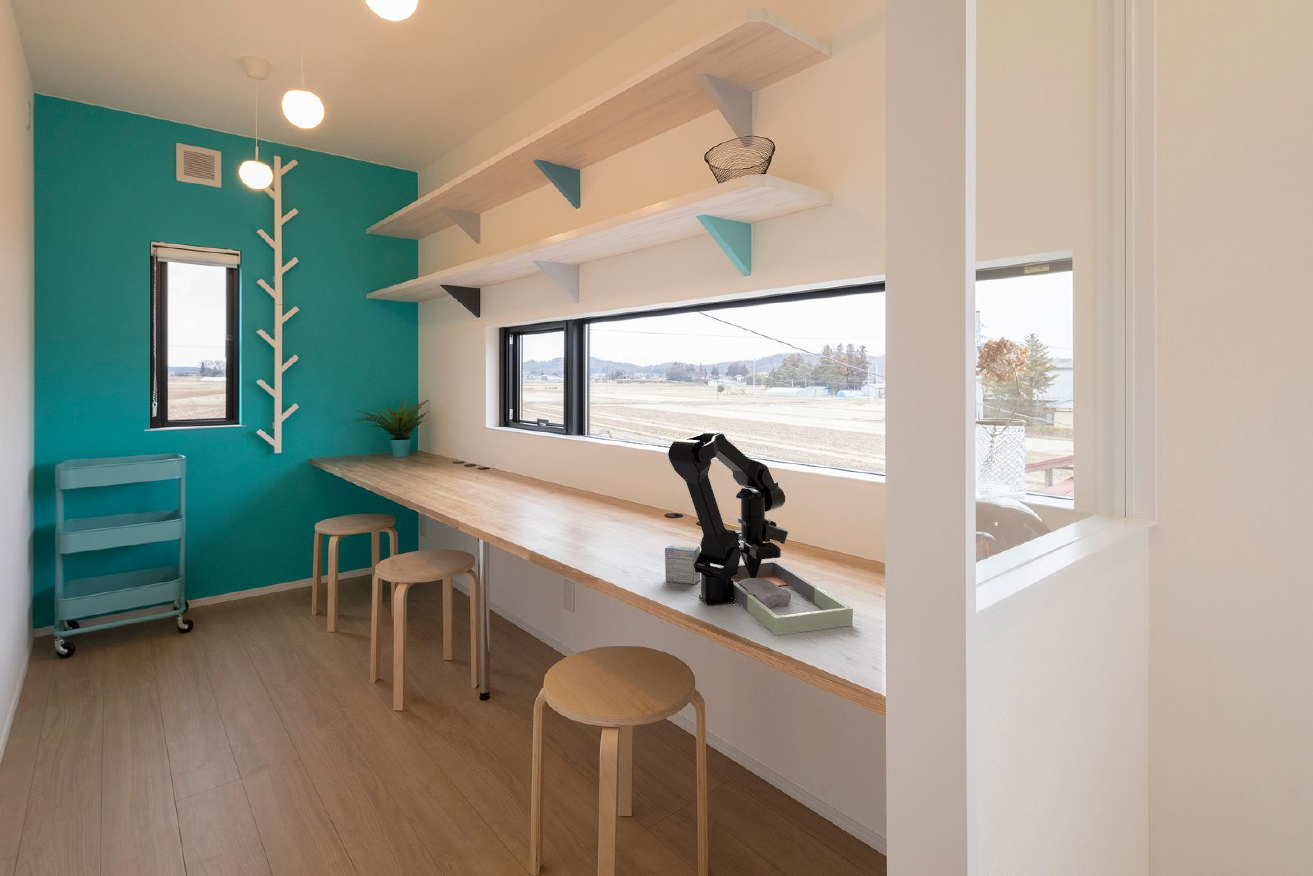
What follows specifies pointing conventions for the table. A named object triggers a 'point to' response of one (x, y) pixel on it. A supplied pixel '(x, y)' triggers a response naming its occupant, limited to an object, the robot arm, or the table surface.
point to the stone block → (766, 592)
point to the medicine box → (681, 563)
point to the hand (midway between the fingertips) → (753, 578)
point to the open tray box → (792, 623)
